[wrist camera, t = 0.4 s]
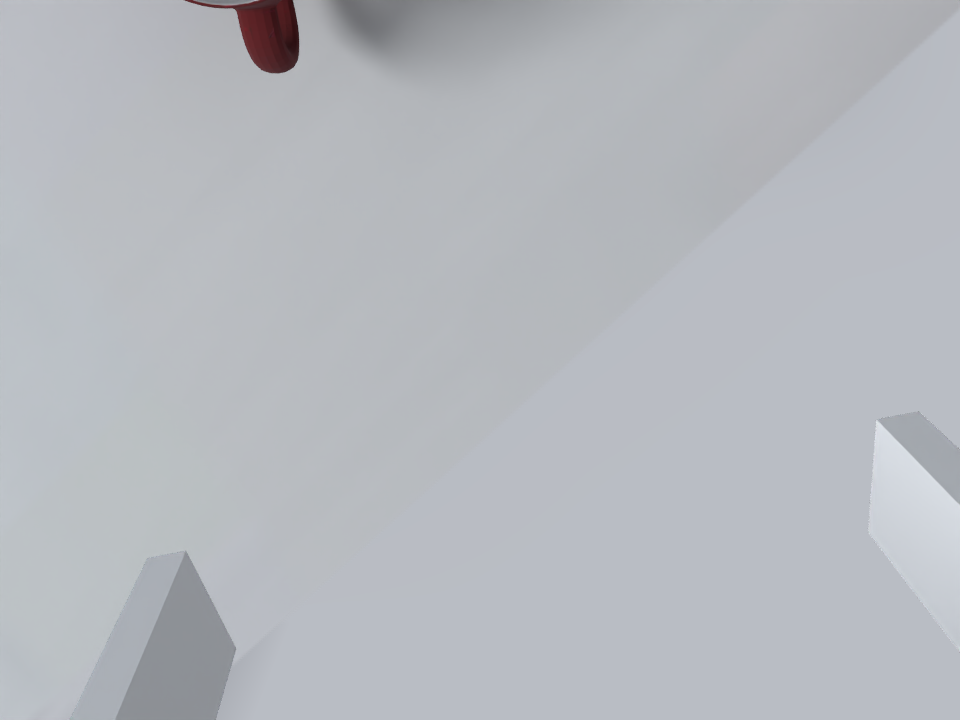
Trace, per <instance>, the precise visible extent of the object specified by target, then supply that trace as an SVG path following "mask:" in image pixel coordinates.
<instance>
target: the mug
mask: <svg viewBox="0 0 960 720" xmlns="http://www.w3.org/2000/svg"><path fill="white" fill-rule="evenodd" d="M185 1H188V2H191V3H194V4H198V5H202V6H207V7H213V8H233V9H235V10H236V11H237V14H238V19H239V24H240V28H241V32H242V36H243V39H244V42H245V45H246V48H247V50H248V53H249V55H250V57H251V59H252V60H253V62H254V63H255V64H256V65H257V66H258V67H259V68H260V69H261V70H263V71H266V72H269V73H283V72H286V71H288V70H290V69H292V68H293V67H294V66H295V64H296V63H297V61H298V56H299V32H298V24H297V18H296V13H295V8H294V4H293V0H185Z"/></svg>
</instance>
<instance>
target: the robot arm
mask: <svg viewBox="0 0 960 720" xmlns="http://www.w3.org/2000/svg"><path fill="white" fill-rule="evenodd" d="M868 533H869V534H870V535H871V537H872V538H873V539H874V541H875V542H876V543H877V545H878V546H879V547H880V549H881V550H882V551H883V553H884V554H885V555H886V556H887V558H888V559H889V560H890V562H891V563H892V564H893V566H894V567H895V568H896V570H897V571H898V572H899V574H900V575H901V576H902V577H903V579H904V580H905V581H906V583H907V584H908V585H909V587H910V588H911V589H912V591H913V592H914V593H915V594H916V596H917V597H918V598H919V600H920V601H921V602H922V604H923V605H924V606H925V608H926V609H927V610H928V612H929V613H930V614H931V615H932V617H933V618H934V619H935V621H936V622H937V623H938V624H939V626H940V627H941V629H942V630H943V631H944V633H945V634H946V635H947V636H948V638H949V639H950V640H951V642H952V643H953V644H954V645H955V647H956V648H957V649H958V651H959V652H960V449H959V448H958V447H957V446H956V445H954V444H953V443H952V442H951V441H950V440H949V439H948V438H947V437H946V436H945V435H944V434H943V433H941V432H940V431H939V430H938V429H937V428H936V427H935V426H934V425H933V424H932V423H931V422H930V421H928V420H927V419H926V418H925V417H924V416H923V415H922V414H921V413H920V412H919V411H918V412H913V413H907V414H902V415H897V416H892V417H887V418H881V419H877V421H876V434H875V447H874V460H873V473H872V486H871V500H870V514H869V526H868ZM235 651H236V647H235V645H234V643H233V641H232V639H231V637H230V635H229V634H228V632H227V630H226V628H225V626H224V624H223V622H222V620H221V618H220V616H219V614H218V612H217V610H216V608H215V606H214V604H213V602H212V600H211V598H210V596H209V595H208V593H207V591H206V589H205V587H204V585H203V583H202V581H201V579H200V577H199V575H198V573H197V571H196V569H195V567H194V565H193V563H192V561H191V559H190V558H189V556H188V554H187V552H186V551H182V552H177V553H172V554H166V555H161V556H156V557H151V558H147V560H146V562H145V564H144V566H143V568H142V570H141V573H140V575H139V577H138V579H137V581H136V583H135V585H134V587H133V589H132V591H131V593H130V595H129V598H128V600H127V602H126V604H125V606H124V608H123V610H122V612H121V614H120V616H119V618H118V620H117V623H116V625H115V627H114V629H113V631H112V633H111V635H110V637H109V639H108V641H107V643H106V645H105V648H104V650H103V652H102V654H101V656H100V658H99V660H98V662H97V664H96V666H95V668H94V670H93V673H92V675H91V677H90V679H89V681H88V683H87V685H86V687H85V689H84V691H83V693H82V695H81V698H80V700H79V702H78V704H77V706H76V708H75V710H74V712H73V714H72V716H71V718H70V720H216V717H217V713H218V710H219V706H220V703H221V699H222V696H223V693H224V689H225V686H226V682H227V679H228V675H229V672H230V668H231V665H232V661H233V658H234V654H235Z"/></svg>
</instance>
